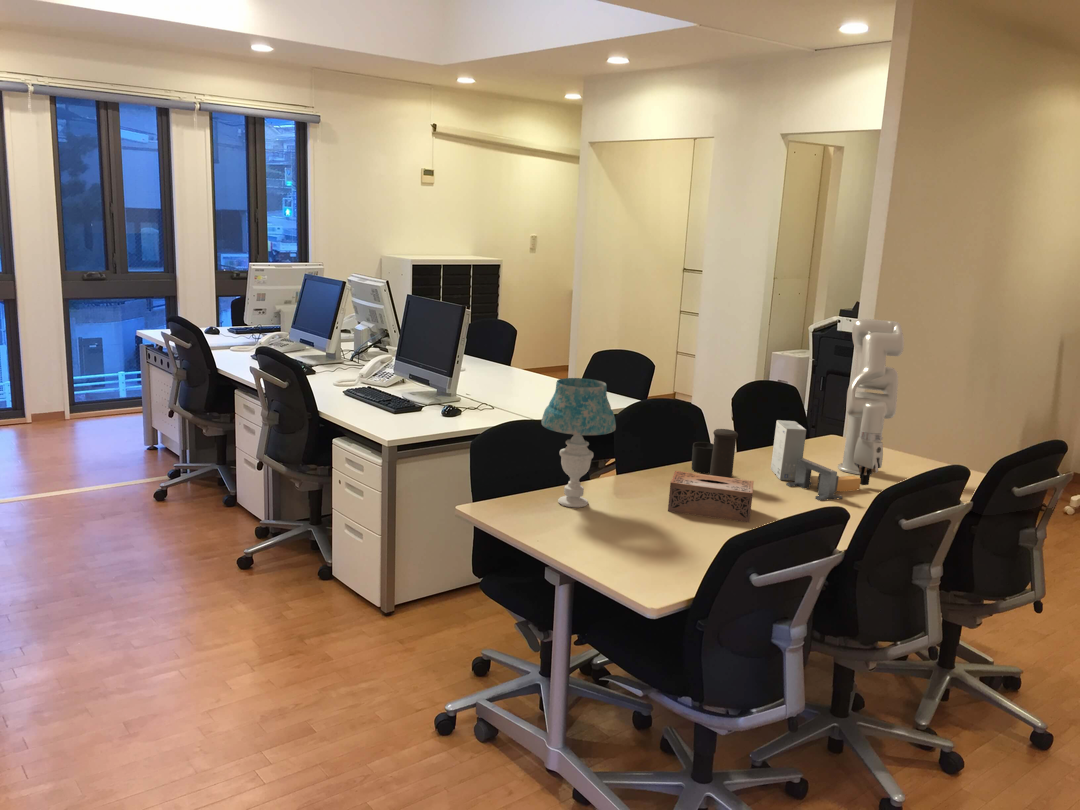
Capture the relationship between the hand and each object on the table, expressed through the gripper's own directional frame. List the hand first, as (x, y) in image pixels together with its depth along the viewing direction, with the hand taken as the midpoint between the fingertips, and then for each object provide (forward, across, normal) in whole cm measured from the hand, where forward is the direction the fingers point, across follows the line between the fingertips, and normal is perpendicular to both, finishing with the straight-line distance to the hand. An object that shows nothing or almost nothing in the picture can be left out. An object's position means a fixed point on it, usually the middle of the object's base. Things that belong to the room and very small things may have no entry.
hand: (863, 484), depth 316 cm
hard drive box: (+2, +20, +20) cm, 28 cm away
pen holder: (+2, +32, +49) cm, 59 cm away
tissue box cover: (+2, -8, +73) cm, 74 cm away
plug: (+1, 0, +11) cm, 11 cm away
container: (+2, +16, +52) cm, 54 cm away
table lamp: (+2, +8, +115) cm, 115 cm away
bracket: (+1, 0, +23) cm, 23 cm away
